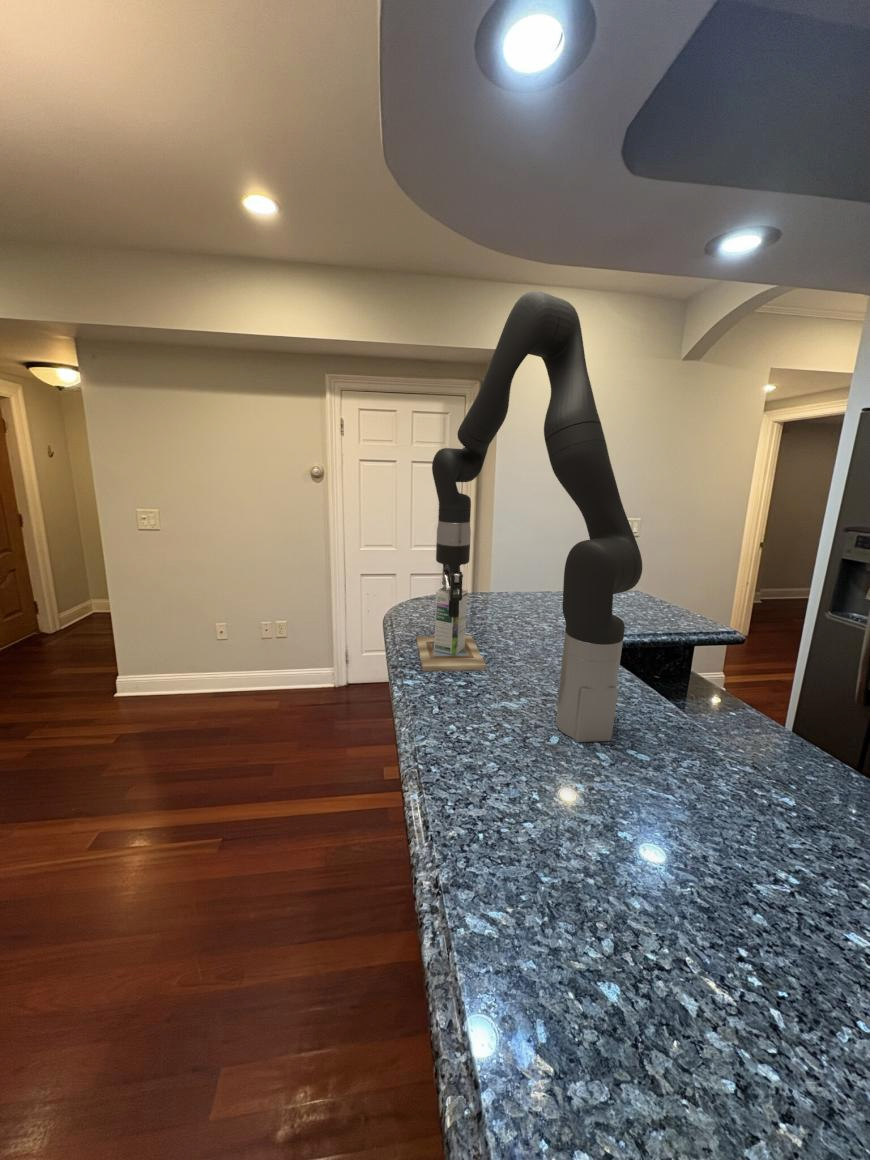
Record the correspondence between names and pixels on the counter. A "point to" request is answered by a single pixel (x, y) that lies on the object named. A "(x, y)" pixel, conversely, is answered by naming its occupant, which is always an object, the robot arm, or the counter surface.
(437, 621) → the syrup box
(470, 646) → the wooden picture frame
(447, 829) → the counter surface
